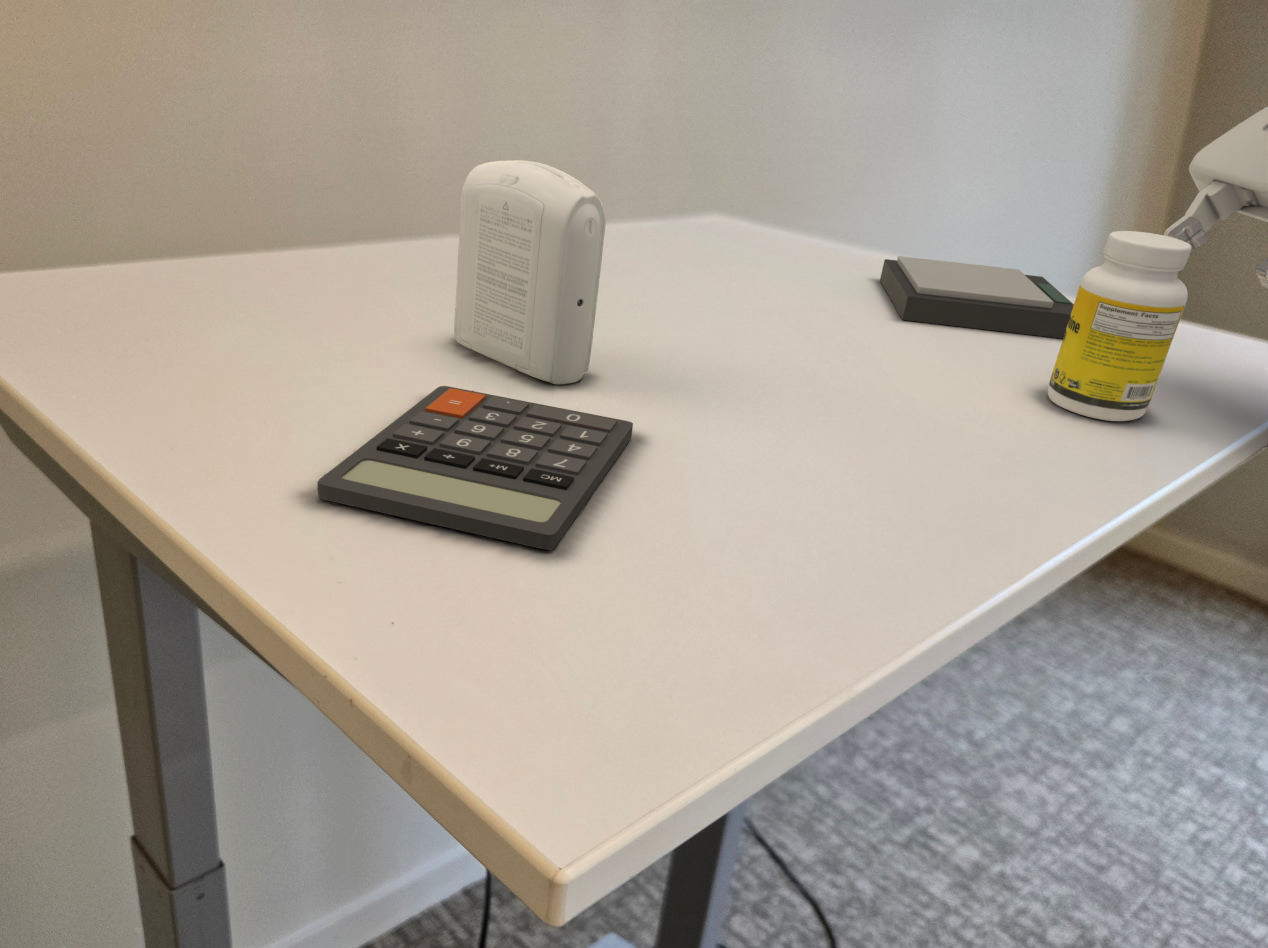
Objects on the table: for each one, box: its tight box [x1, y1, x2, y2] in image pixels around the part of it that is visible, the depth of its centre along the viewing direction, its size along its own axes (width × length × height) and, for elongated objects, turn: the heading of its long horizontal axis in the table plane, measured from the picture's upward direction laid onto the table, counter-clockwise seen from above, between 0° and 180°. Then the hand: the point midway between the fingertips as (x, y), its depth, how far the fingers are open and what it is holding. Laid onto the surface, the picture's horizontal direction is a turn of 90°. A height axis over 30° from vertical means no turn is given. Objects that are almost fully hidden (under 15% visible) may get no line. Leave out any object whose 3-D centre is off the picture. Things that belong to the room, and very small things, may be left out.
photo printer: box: [453, 159, 607, 385], centre depth 67 cm, size 10×4×12 cm, turn 45°
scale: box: [879, 255, 1074, 340], centre depth 91 cm, size 14×13×3 cm
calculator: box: [317, 385, 634, 551], centre depth 55 cm, size 12×1×15 cm
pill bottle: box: [1047, 230, 1191, 422], centre depth 69 cm, size 6×6×11 cm
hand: (1216, 262), depth 67 cm, fingers open, 8 cm apart
